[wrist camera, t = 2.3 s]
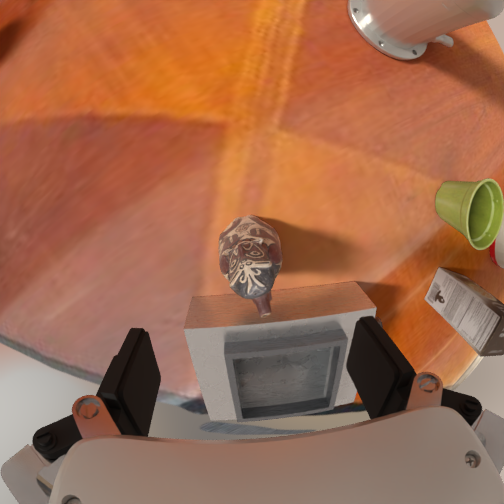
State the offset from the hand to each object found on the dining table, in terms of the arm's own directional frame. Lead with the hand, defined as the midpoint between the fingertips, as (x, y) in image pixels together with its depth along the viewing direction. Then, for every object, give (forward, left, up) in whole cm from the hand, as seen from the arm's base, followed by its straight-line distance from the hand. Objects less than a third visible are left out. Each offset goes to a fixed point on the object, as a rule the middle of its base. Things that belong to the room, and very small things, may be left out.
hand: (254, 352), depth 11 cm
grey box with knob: (-5, +18, -22) cm, 29 cm away
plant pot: (-31, -2, -22) cm, 38 cm away
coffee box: (-34, +13, -22) cm, 42 cm away
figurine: (-1, +3, -22) cm, 22 cm away
